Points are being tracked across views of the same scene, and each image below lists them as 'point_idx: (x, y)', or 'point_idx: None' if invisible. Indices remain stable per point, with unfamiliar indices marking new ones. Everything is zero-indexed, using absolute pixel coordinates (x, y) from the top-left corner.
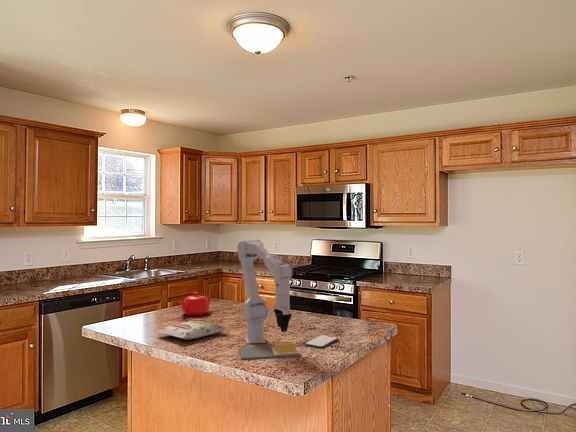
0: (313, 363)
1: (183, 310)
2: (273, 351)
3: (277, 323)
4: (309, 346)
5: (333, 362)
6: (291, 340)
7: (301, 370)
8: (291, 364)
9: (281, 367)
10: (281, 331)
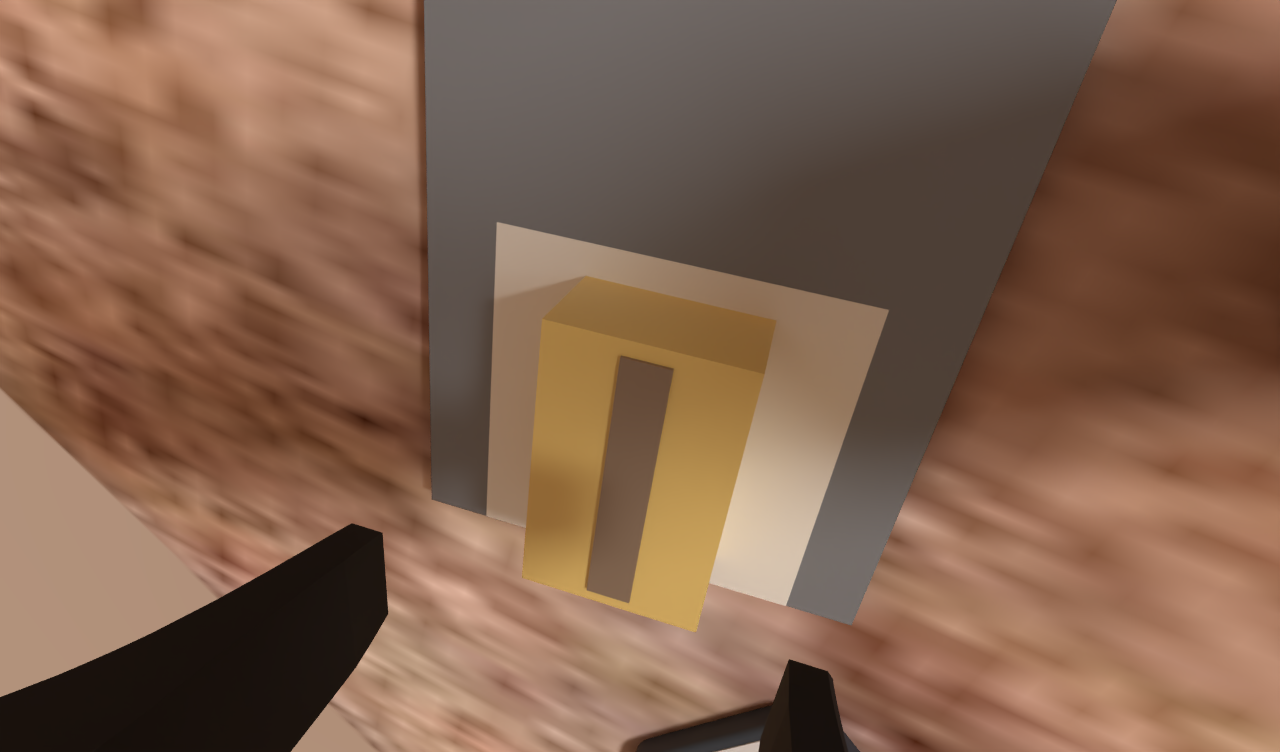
0: (237, 483)
1: None
2: (640, 261)
3: (793, 730)
4: (745, 715)
5: None
6: (699, 610)
7: (56, 305)
8: (206, 290)
9: (111, 145)
10: (346, 526)
